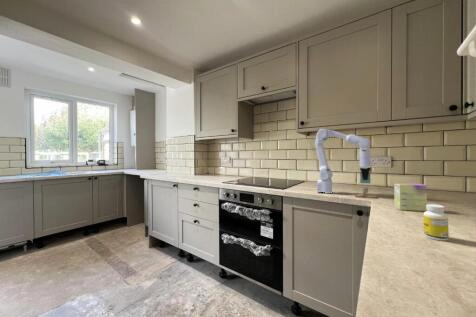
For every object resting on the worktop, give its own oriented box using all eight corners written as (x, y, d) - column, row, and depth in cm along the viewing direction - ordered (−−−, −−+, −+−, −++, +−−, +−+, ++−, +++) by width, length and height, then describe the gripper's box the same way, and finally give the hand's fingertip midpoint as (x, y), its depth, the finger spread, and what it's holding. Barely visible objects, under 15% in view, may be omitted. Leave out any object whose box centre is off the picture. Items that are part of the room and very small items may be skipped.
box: (419, 208, 96) (419, 183, 96) (427, 211, 90) (426, 185, 90) (394, 207, 99) (393, 183, 99) (399, 210, 93) (399, 184, 93)
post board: (355, 197, 125) (355, 188, 125) (355, 194, 134) (355, 186, 134) (376, 198, 119) (376, 189, 119) (375, 195, 128) (375, 187, 128)
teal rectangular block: (360, 183, 125) (360, 172, 125) (360, 182, 130) (360, 171, 130) (370, 183, 123) (370, 172, 123) (370, 182, 127) (369, 171, 127)
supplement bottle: (423, 232, 66) (422, 202, 66) (447, 236, 62) (446, 205, 62) (424, 238, 62) (424, 206, 62) (450, 242, 58) (449, 208, 58)
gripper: (373, 157, 118) (373, 181, 118) (372, 157, 130) (372, 178, 130) (359, 157, 122) (359, 180, 122) (359, 157, 134) (359, 178, 134)
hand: (365, 179), depth 126 cm, fingers closed on teal rectangular block, 5 cm apart
